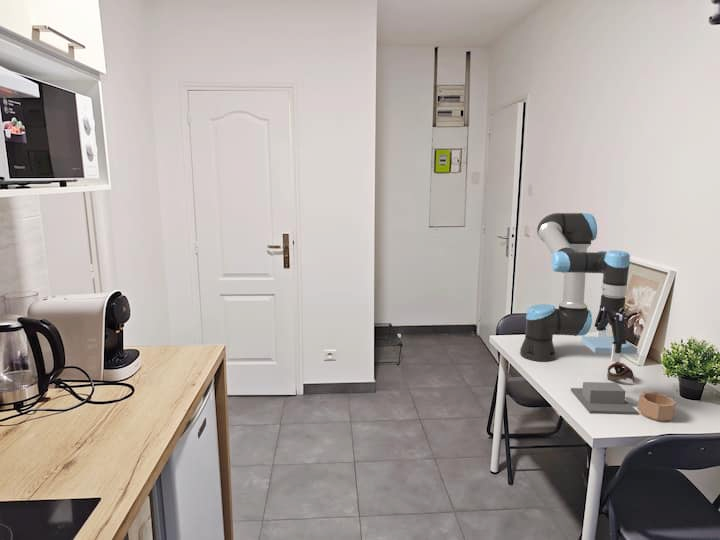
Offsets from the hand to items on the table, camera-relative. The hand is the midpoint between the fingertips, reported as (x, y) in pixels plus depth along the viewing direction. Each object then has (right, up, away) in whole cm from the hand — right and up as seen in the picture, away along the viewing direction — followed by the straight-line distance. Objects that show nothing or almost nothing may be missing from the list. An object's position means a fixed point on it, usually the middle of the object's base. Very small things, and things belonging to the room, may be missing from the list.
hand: (607, 354), depth 172 cm
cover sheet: (0, +3, -1) cm, 3 cm away
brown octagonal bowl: (+13, -20, -6) cm, 25 cm away
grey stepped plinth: (0, -18, +4) cm, 18 cm away
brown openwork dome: (+17, -14, +22) cm, 31 cm away
